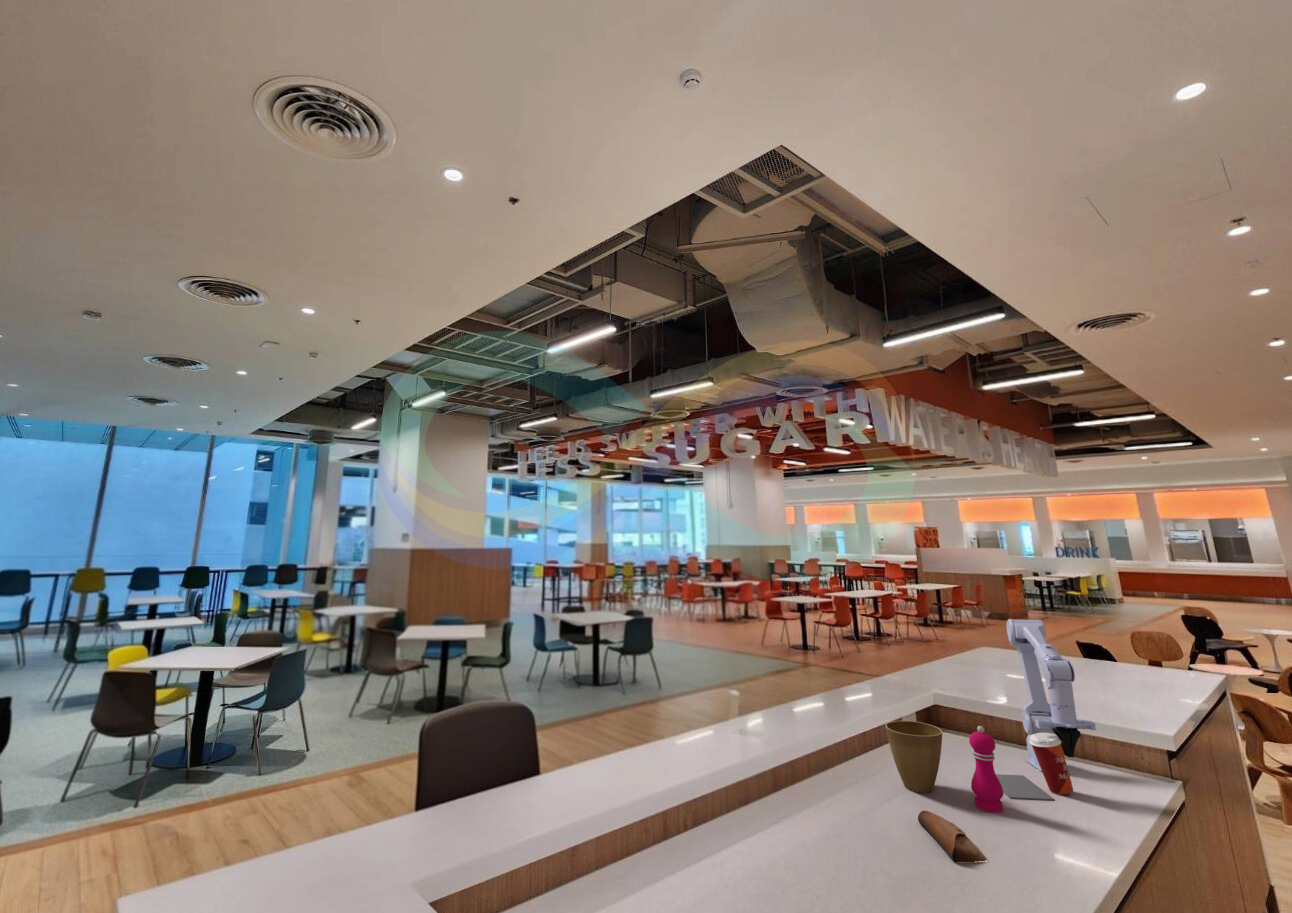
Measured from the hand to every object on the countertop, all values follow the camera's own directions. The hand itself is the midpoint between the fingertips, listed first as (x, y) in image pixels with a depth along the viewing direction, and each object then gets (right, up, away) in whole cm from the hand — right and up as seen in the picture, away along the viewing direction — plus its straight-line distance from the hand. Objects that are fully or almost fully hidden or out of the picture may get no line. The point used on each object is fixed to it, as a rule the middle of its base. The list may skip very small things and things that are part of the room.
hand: (1069, 756), depth 155 cm
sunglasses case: (-47, -6, -27) cm, 55 cm away
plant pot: (-41, -11, +3) cm, 42 cm away
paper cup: (-3, -9, -1) cm, 9 cm away
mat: (-13, -10, +2) cm, 17 cm away
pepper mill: (-28, -9, -10) cm, 31 cm away
